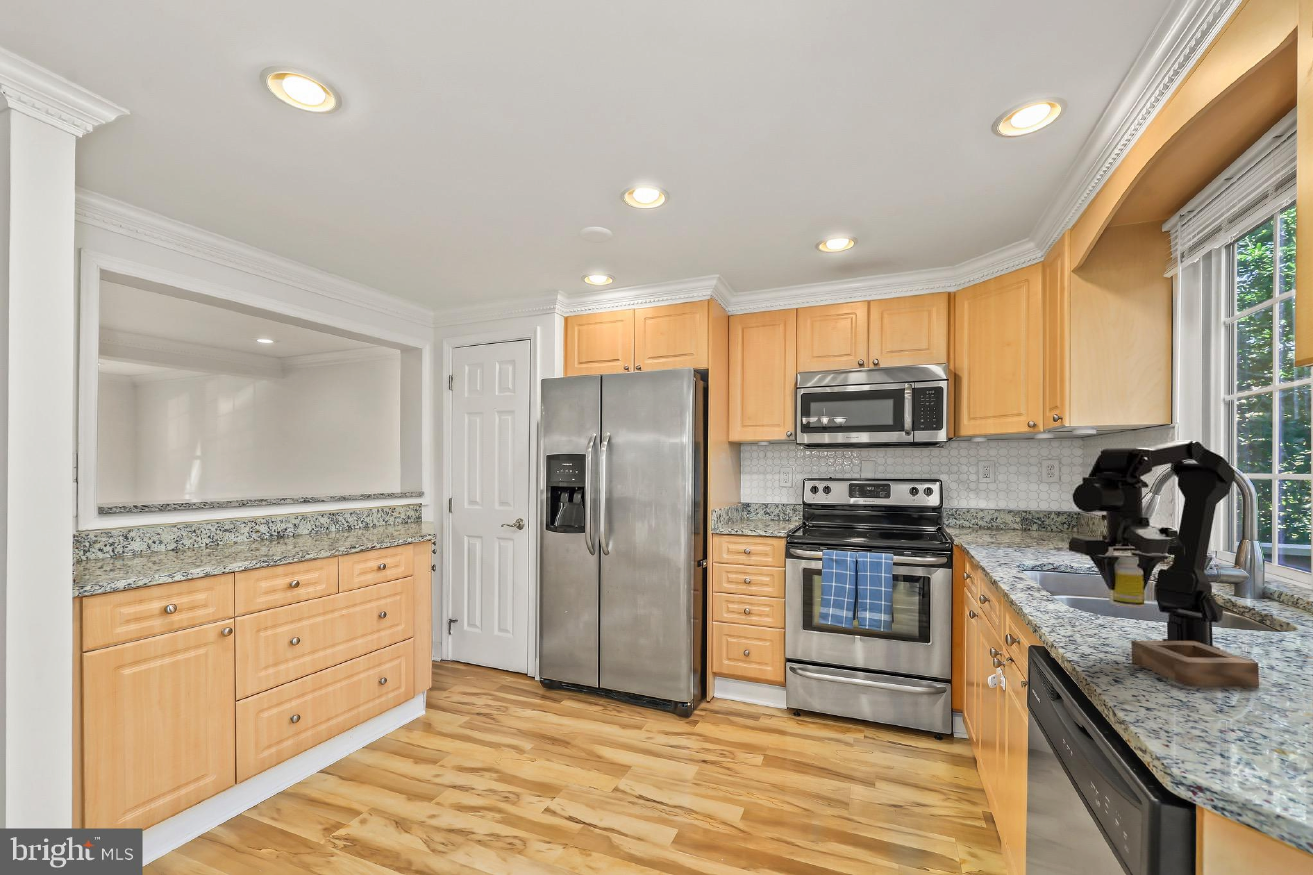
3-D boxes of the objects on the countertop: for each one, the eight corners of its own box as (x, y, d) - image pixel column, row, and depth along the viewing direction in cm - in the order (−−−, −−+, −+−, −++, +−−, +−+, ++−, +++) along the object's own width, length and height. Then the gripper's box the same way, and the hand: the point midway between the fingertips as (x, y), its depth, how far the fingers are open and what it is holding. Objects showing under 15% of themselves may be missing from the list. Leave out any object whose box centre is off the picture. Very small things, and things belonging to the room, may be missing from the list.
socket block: (1195, 662, 112) (1194, 640, 112) (1259, 686, 100) (1258, 662, 100) (1132, 661, 112) (1131, 640, 112) (1187, 686, 100) (1187, 662, 100)
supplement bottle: (1151, 609, 113) (1149, 558, 113) (1118, 608, 114) (1117, 557, 114) (1134, 602, 118) (1132, 553, 118) (1103, 601, 119) (1102, 552, 119)
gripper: (1106, 514, 109) (1108, 599, 108) (1209, 514, 108) (1212, 600, 107) (1065, 509, 120) (1067, 586, 119) (1159, 509, 119) (1161, 586, 119)
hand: (1126, 589), depth 116 cm, fingers closed on supplement bottle, 5 cm apart
